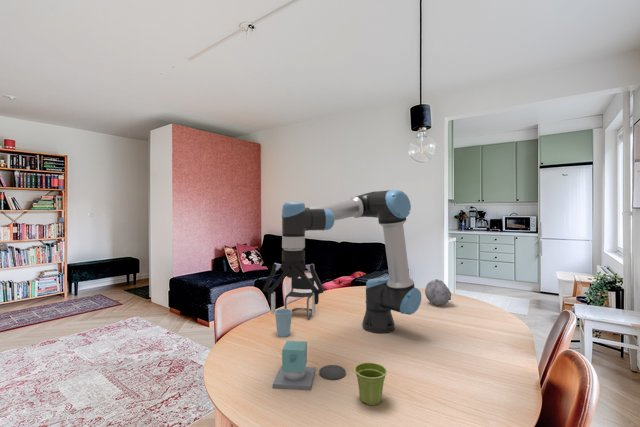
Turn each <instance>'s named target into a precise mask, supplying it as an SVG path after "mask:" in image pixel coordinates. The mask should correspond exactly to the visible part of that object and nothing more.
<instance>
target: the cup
mask: <svg viewBox="0 0 640 427" xmlns="http://www.w3.org/2000/svg"><path fill="white" fill-rule="evenodd" d="M292 315H293V312H292V309H289V308H287V309H285V308H280V309H275V312H274V317H275V325H276V332H277V333H276V334H277V336H278V337H280V338H285V337H289V336H290V334H291V326H292V325H291V324H292Z"/></svg>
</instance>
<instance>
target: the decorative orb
mask: <svg viewBox="0 0 640 427" xmlns="http://www.w3.org/2000/svg"><path fill="white" fill-rule="evenodd" d="M424 288H425V289H424V294H425V298H426V299H427V300H428V301H429V303H431V304H433V305H435V306H444V305H446V304H448V303H449V301H452V300H451V299H452V292H451V290H450V289H449V288H448V286H447V284H445V282H444V281H443V280H440V279H438V278H437V279H435V280H434V279H433V280H431V281H429V282H428V283H427V284H426V286H425V287H424Z"/></svg>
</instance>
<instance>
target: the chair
mask: <svg viewBox="0 0 640 427" xmlns="http://www.w3.org/2000/svg"><path fill="white" fill-rule="evenodd" d="M304 273H305V274H311V272H310V271H308V270H304ZM308 278H309V277H308ZM309 279H310V281H311V282H312V283H313V284H314V285H315V281H314V279H313V277H312V276H311V277H310V278H309ZM290 280H291V291H289V292H288V293H287V294H286V295H285V297H284V309H288V308H287V307H288V306H287V305H288V304H287V302H288V301H287V300H288V298H289V297H292V298H306V307H305V308H304V307H303V308H302V307H294V308H292V309H291V310H292V313H293V312H294V311H306V319H307V320H310V319H311V317H312V316H313V315H312V308H310V299H312V294H313V292H312V291H311V292H296V291H294V290H311V289H310V288H309V287H308V285H307V284H306V283H305V282H304V281H303V279H301V278H300V277H298V278H294V277H291V278H290Z"/></svg>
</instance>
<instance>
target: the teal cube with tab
mask: <svg viewBox="0 0 640 427" xmlns="http://www.w3.org/2000/svg"><path fill="white" fill-rule="evenodd" d="M307 364H308V341H304V340H286V341H285V343H284V345H283V347H282V349H281V366H282V371H284V372H304V371H305V368H306V367H307Z"/></svg>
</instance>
